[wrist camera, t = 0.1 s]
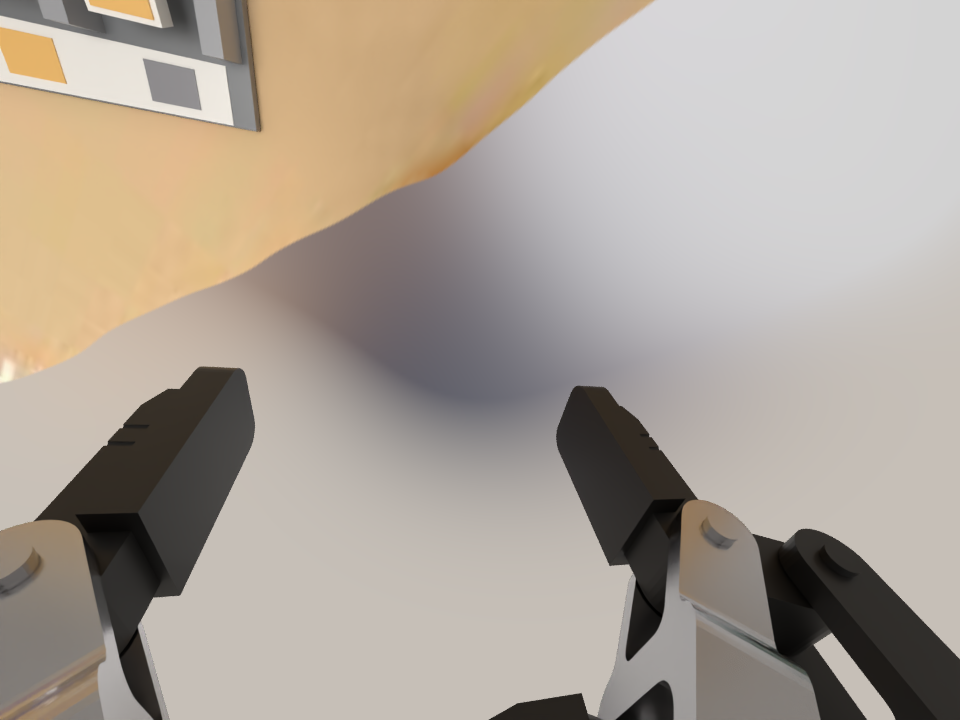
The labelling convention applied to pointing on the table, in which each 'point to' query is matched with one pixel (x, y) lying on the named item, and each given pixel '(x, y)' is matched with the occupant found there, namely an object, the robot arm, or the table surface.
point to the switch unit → (136, 57)
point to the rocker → (134, 10)
